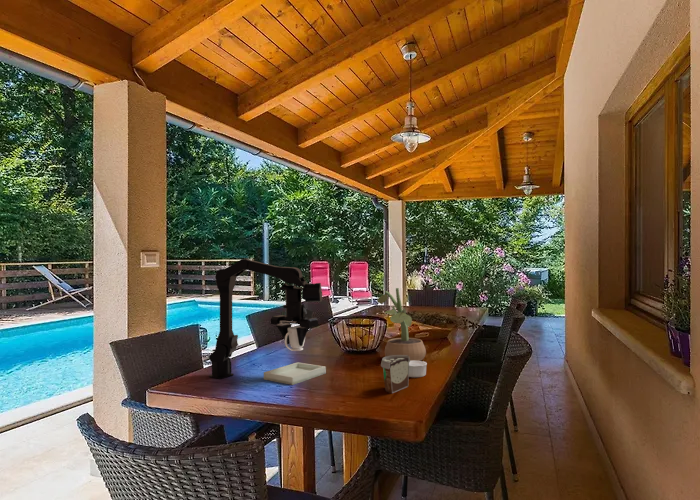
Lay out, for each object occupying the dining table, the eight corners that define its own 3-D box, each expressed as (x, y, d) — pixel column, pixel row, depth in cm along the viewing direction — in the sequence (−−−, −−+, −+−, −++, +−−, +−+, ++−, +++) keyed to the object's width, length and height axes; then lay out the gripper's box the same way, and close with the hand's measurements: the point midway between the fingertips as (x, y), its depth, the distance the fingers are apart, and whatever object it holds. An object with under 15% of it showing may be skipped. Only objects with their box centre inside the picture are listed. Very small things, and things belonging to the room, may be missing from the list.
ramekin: (400, 372, 176) (400, 360, 176) (424, 371, 176) (423, 359, 176) (404, 378, 167) (404, 366, 167) (429, 377, 167) (429, 365, 167)
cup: (310, 348, 175) (310, 327, 175) (293, 354, 167) (292, 331, 167) (296, 347, 179) (295, 325, 179) (278, 351, 171) (277, 329, 171)
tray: (292, 385, 162) (292, 377, 162) (263, 379, 170) (263, 372, 170) (325, 373, 176) (325, 366, 176) (297, 368, 184) (297, 362, 184)
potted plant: (391, 353, 208) (389, 285, 208) (431, 356, 200) (429, 285, 200) (370, 365, 188) (368, 289, 188) (413, 368, 180) (411, 289, 180)
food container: (395, 382, 162) (394, 353, 162) (410, 385, 158) (409, 355, 158) (373, 391, 152) (372, 360, 152) (389, 394, 148) (388, 362, 148)
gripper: (327, 301, 174) (328, 343, 174) (289, 299, 185) (290, 339, 185) (307, 304, 165) (308, 349, 165) (269, 301, 176) (270, 343, 176)
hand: (294, 344), depth 173 cm, fingers closed on cup, 6 cm apart
